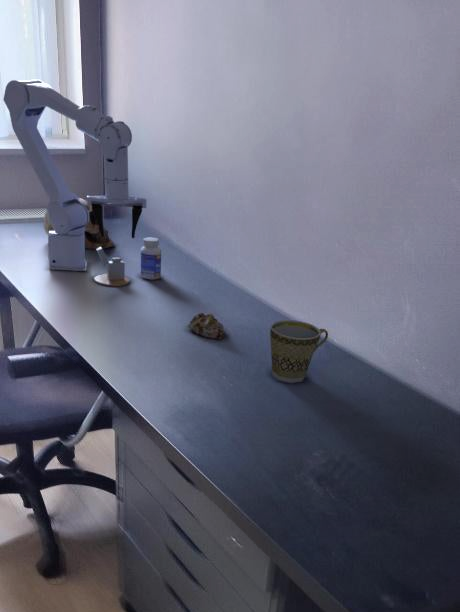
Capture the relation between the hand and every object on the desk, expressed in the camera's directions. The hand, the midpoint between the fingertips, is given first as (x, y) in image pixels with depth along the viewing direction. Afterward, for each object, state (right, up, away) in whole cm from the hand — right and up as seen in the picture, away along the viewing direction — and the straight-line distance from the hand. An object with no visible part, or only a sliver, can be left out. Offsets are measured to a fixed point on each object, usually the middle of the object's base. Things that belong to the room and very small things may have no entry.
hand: (117, 236), depth 181 cm
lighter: (-2, -10, +3) cm, 11 cm away
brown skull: (-16, +9, +29) cm, 34 cm away
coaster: (-2, -10, +3) cm, 11 cm away
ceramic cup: (+42, -42, -35) cm, 69 cm away
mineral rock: (+23, -30, -20) cm, 43 cm away
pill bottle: (+7, -7, +9) cm, 14 cm away
